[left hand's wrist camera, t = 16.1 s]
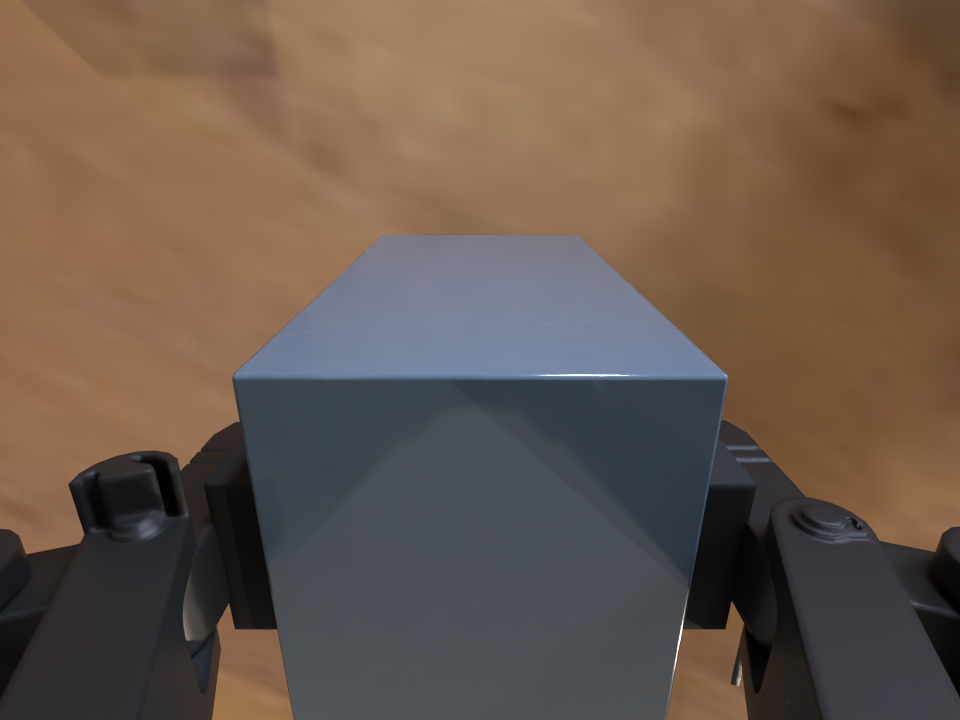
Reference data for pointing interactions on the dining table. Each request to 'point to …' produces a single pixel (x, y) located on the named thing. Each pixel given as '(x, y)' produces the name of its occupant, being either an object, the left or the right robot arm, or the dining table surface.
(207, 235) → the dining table surface
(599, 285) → the block
